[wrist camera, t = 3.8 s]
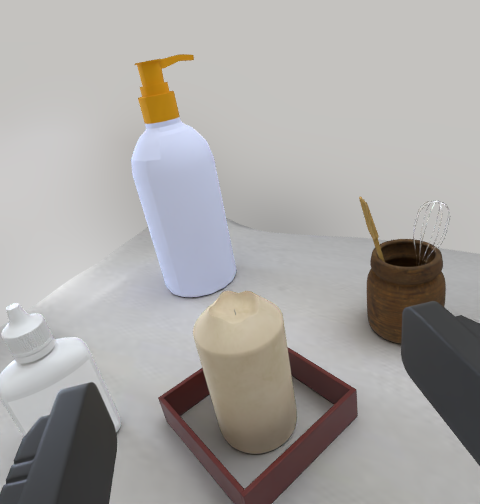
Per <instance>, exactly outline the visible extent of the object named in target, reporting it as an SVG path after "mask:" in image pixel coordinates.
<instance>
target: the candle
mask: <svg viewBox="0 0 480 504" xmlns="http://www.w3.org/2000/svg"><path fill="white" fill-rule="evenodd" d="M193 336H194V340H195V343H196V347H197V350H198V354H199V357H200V361H201V364H202V368H203V371H204V375H205V378H206V382H207V385H208V389H209V392H210V396H211V399H212V403H213V406H214V410H215V413H216V417H217V420H218V424H219V427H220V430H221V432H222V435H223V436H224V438H225V440H226V441H227V442H228V443H229V444H230V445H231V446H232V447H233V448H235V449H237V450H239V451H242V452H245V453H251V454H260V453H265V452H269V451H272V450H274V449H276V448H278V447H280V446H281V445H282V444H284V443H285V442H286V441H287V440H288V439H289V437H290V436H291V434H292V433H293V431H294V429H295V425H296V419H297V411H296V402H295V396H294V389H293V382H292V375H291V368H290V362H289V355H288V348H287V341H286V334H285V328H284V321H283V315H282V313H281V311H280V309H279V308H278V307H277V306H276V305H275V304H274V303H272V302H270V301H268V300H266V299H264V298H262V297H260V296H258V295H256V294H255V293H253V292H251V291H244V292H241V293H236V292H232V291H225V292H222V293H221V294H220V296H219V297H218V298H217V300H216V301H215V302H213V303H212V304H211V305H210V306H209V307H208V308H207V309H206V310H205V311H204V312H203V313H202V314H201V315H200V317H199V318H198V319H197V321H196V323H195V325H194V328H193Z"/></svg>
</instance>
